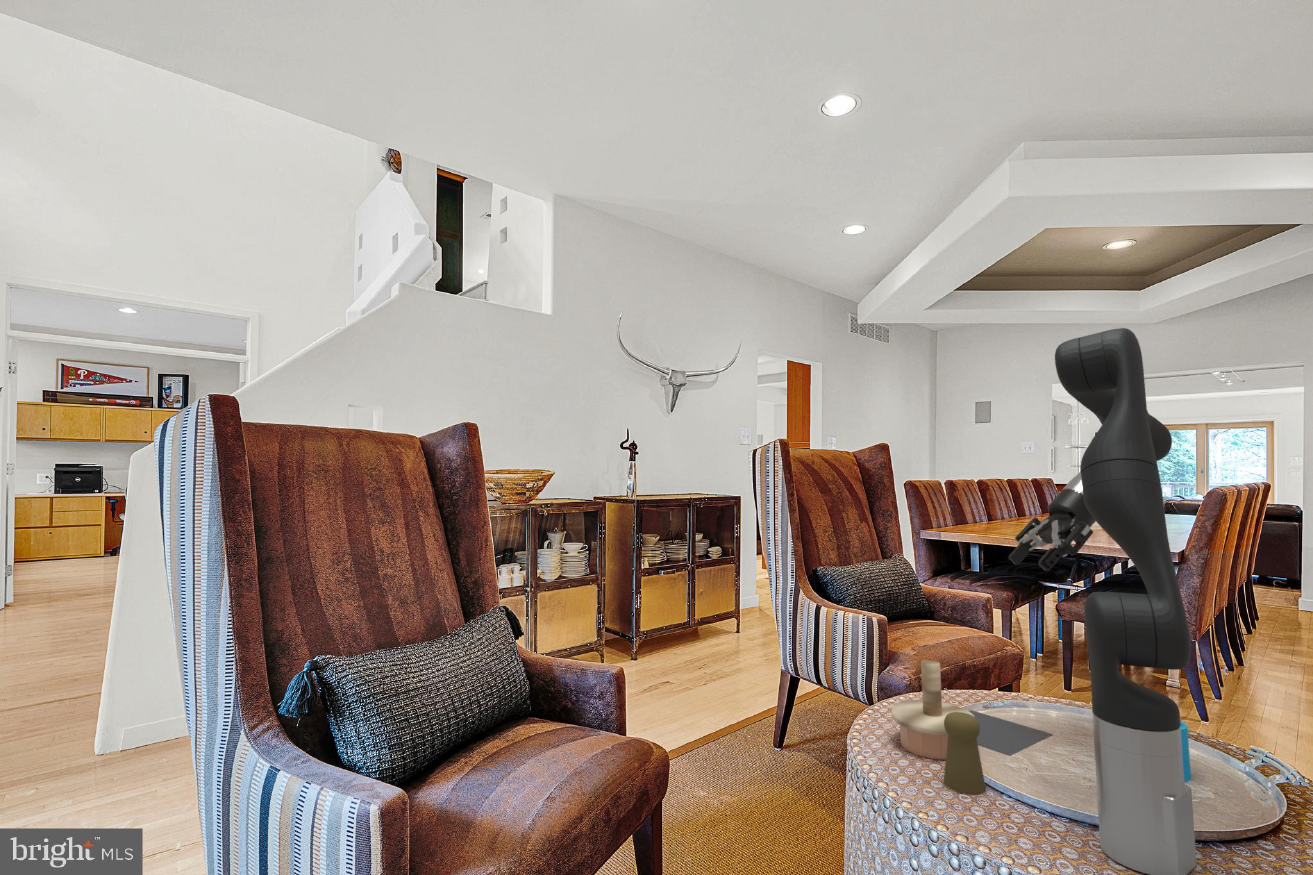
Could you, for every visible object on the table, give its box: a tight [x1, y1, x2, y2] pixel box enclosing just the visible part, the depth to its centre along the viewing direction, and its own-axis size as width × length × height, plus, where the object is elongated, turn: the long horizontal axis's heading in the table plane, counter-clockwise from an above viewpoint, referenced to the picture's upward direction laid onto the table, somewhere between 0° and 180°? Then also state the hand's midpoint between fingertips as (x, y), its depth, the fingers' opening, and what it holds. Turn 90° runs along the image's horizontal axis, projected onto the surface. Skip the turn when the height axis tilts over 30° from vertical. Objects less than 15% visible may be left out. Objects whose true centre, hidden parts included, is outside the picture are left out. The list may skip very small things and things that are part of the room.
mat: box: [968, 709, 1054, 757], centre depth 123 cm, size 16×16×1 cm
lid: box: [891, 659, 975, 735], centre depth 117 cm, size 14×14×10 cm
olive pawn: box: [943, 712, 987, 795], centre depth 102 cm, size 6×6×11 cm
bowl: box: [899, 724, 948, 761], centre depth 116 cm, size 11×11×5 cm
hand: (1027, 564), depth 119 cm, fingers open, 8 cm apart
